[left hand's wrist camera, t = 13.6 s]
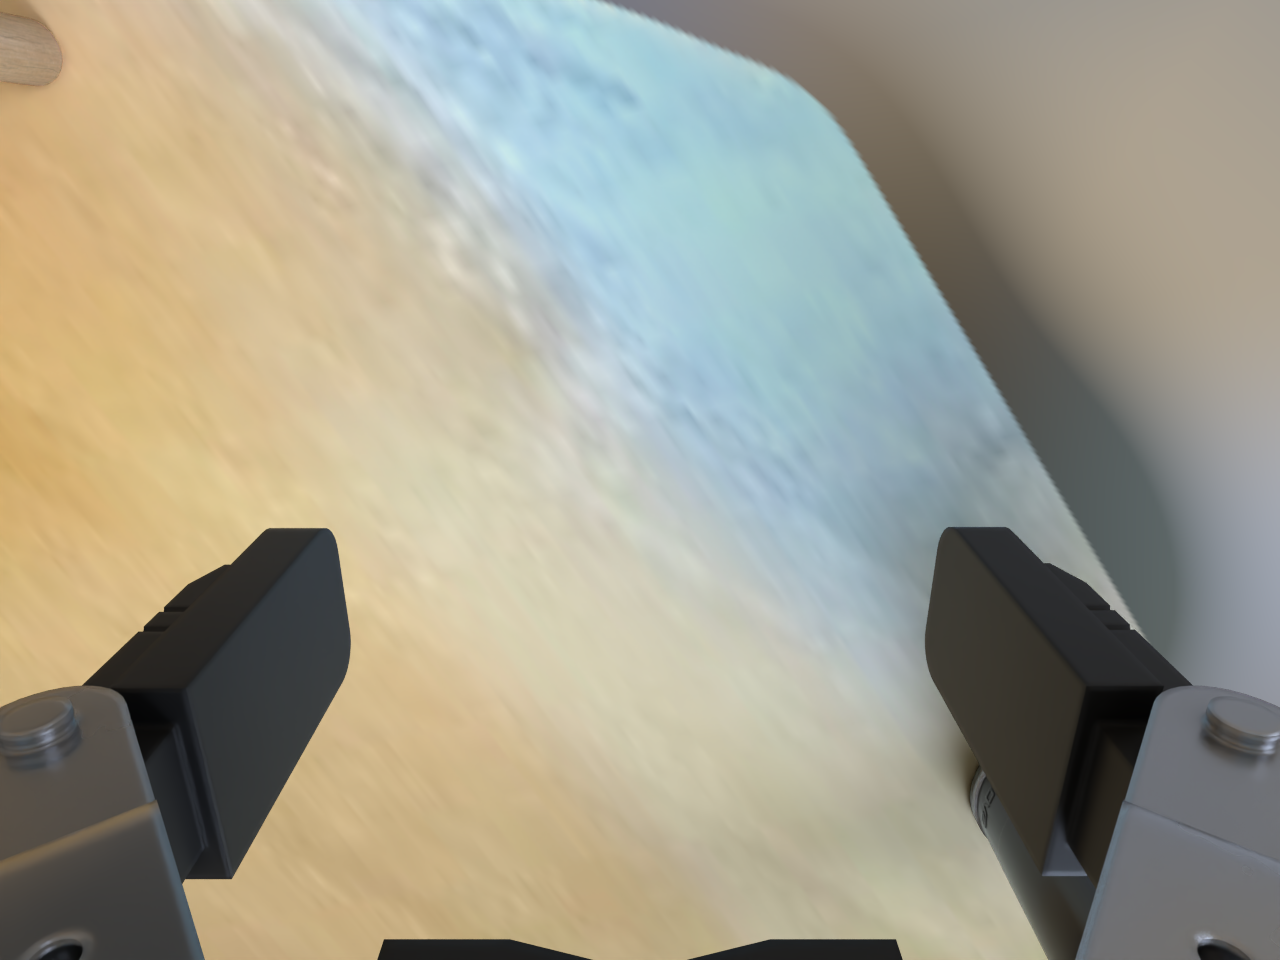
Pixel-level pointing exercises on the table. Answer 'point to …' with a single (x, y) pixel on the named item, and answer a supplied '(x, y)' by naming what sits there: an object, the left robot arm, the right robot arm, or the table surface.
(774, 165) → the table surface
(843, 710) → the table surface
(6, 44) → the planter
